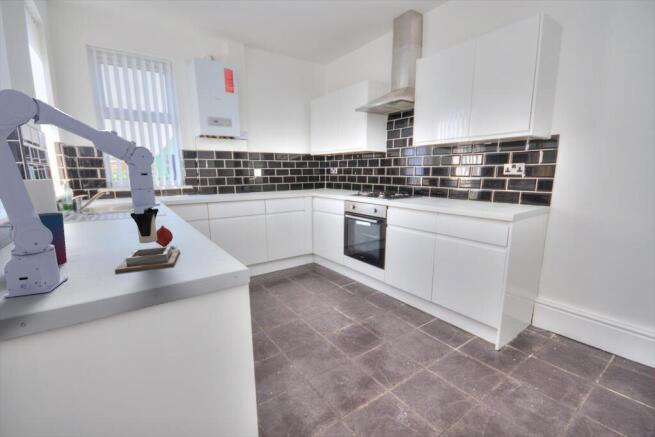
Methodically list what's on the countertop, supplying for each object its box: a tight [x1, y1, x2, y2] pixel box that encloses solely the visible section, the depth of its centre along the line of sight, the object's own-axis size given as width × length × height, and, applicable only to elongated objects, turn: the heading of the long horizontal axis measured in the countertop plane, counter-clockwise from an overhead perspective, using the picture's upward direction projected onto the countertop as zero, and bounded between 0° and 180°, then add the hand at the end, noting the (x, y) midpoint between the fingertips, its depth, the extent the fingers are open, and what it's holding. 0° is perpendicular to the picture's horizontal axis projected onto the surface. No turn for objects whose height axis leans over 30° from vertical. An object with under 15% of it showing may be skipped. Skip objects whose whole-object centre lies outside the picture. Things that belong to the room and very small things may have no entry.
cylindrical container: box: [23, 178, 59, 214], centre depth 92 cm, size 7×7×25 cm
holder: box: [114, 245, 181, 274], centre depth 87 cm, size 16×14×3 cm
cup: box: [38, 212, 68, 265], centre depth 86 cm, size 7×7×15 cm
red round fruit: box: [155, 225, 174, 247], centre depth 104 cm, size 6×6×8 cm
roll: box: [136, 215, 157, 244], centre depth 86 cm, size 5×5×8 cm
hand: (148, 234), depth 86 cm, fingers closed on roll, 5 cm apart
